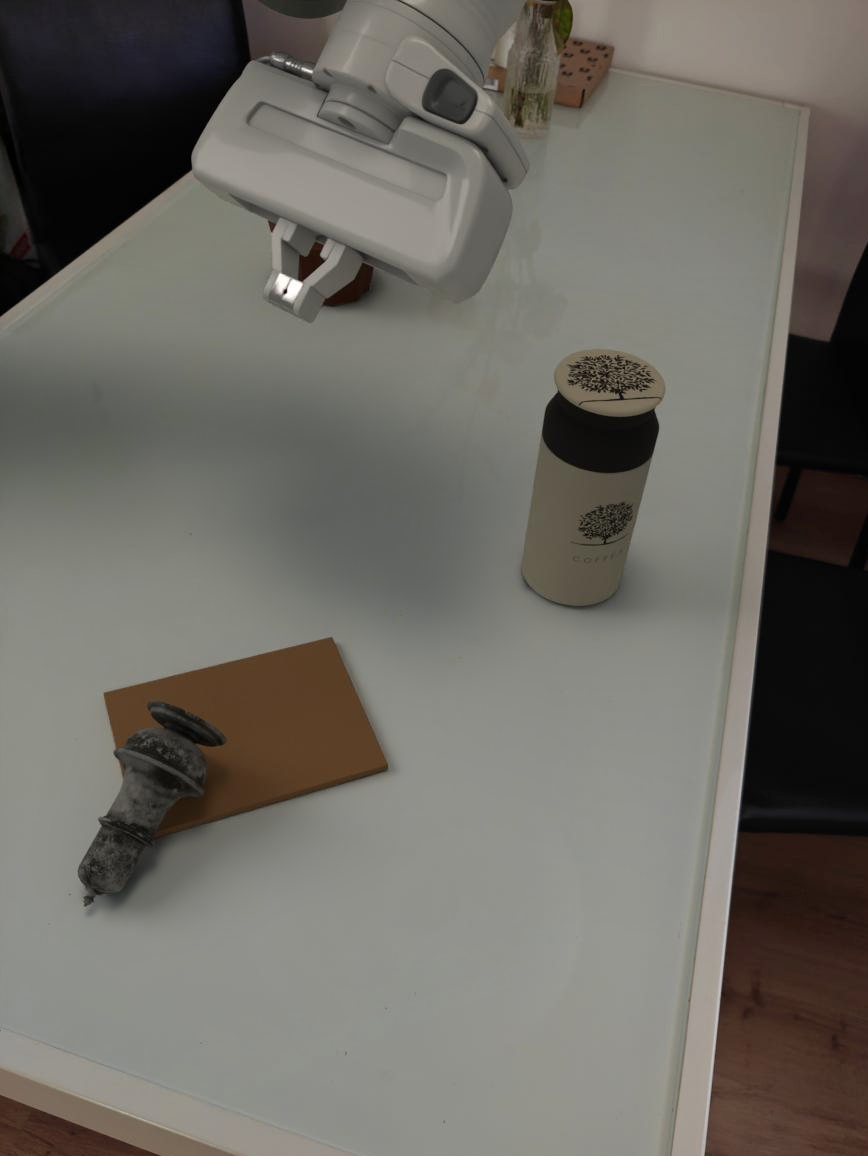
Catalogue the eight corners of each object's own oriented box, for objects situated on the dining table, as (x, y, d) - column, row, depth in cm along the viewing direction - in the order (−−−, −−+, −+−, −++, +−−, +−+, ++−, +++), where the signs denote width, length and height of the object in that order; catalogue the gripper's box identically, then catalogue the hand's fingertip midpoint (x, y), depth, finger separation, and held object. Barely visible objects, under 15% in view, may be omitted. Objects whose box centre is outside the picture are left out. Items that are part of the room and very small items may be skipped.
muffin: (401, 278, 111) (404, 185, 104) (350, 323, 104) (349, 227, 96) (306, 248, 114) (302, 155, 106) (250, 290, 106) (242, 194, 99)
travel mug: (516, 538, 84) (544, 343, 71) (611, 540, 85) (657, 347, 71) (525, 608, 78) (558, 411, 65) (627, 609, 79) (680, 415, 66)
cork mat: (138, 843, 62) (137, 837, 62) (104, 698, 69) (103, 692, 69) (388, 769, 67) (388, 764, 67) (332, 641, 75) (332, 636, 74)
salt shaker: (153, 720, 66) (53, 895, 61) (133, 687, 61) (22, 876, 56) (236, 755, 65) (142, 934, 61) (224, 725, 60) (119, 919, 55)
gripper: (229, 9, 60) (127, 228, 61) (520, 114, 53) (397, 357, 54) (286, 73, 66) (192, 271, 67) (554, 175, 59) (443, 393, 60)
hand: (286, 311), depth 61 cm, fingers closed
